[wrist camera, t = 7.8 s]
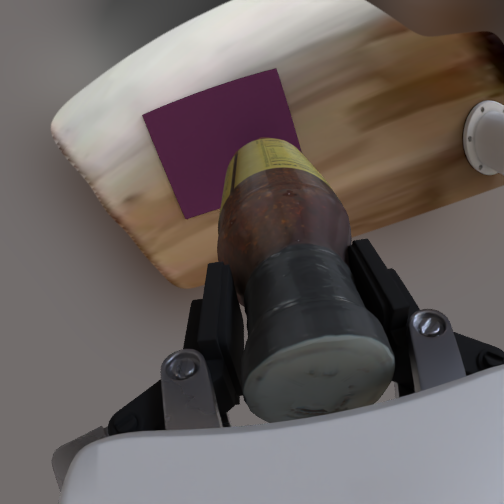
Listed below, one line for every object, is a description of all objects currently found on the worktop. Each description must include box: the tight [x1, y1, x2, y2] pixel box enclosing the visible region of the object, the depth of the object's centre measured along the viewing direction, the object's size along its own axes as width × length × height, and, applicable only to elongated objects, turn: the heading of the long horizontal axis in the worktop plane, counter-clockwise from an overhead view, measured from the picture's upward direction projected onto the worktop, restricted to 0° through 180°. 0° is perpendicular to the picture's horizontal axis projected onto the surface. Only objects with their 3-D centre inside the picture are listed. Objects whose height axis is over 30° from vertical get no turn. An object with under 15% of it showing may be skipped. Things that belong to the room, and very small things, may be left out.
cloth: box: [142, 69, 301, 219], centre depth 40 cm, size 18×16×1 cm
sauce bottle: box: [217, 137, 395, 423], centre depth 16 cm, size 6×6×20 cm
